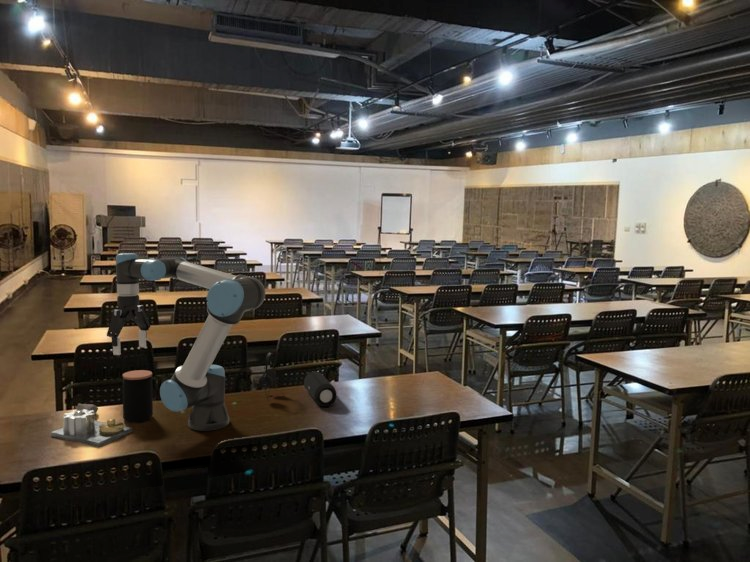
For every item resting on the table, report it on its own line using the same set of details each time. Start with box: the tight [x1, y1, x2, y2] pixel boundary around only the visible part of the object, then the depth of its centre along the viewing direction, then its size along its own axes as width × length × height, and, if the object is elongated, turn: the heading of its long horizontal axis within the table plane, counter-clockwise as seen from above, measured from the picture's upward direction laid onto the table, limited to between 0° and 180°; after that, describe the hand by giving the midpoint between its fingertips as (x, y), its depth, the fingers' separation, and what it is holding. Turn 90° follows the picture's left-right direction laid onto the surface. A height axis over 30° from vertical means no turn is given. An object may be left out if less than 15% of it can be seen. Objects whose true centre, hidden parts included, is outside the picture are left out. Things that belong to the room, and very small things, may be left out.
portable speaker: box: [303, 370, 337, 407], centre depth 249 cm, size 26×10×10 cm, turn 20°
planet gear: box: [62, 409, 96, 435], centre depth 200 cm, size 10×10×6 cm
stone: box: [75, 403, 99, 416], centre depth 217 cm, size 10×8×6 cm
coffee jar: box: [122, 369, 154, 424], centre depth 217 cm, size 11×11×18 cm
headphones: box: [258, 352, 277, 399], centre depth 248 cm, size 15×11×20 cm
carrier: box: [50, 410, 133, 448], centre depth 200 cm, size 22×15×8 cm
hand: (130, 350), depth 210 cm, fingers open, 13 cm apart
